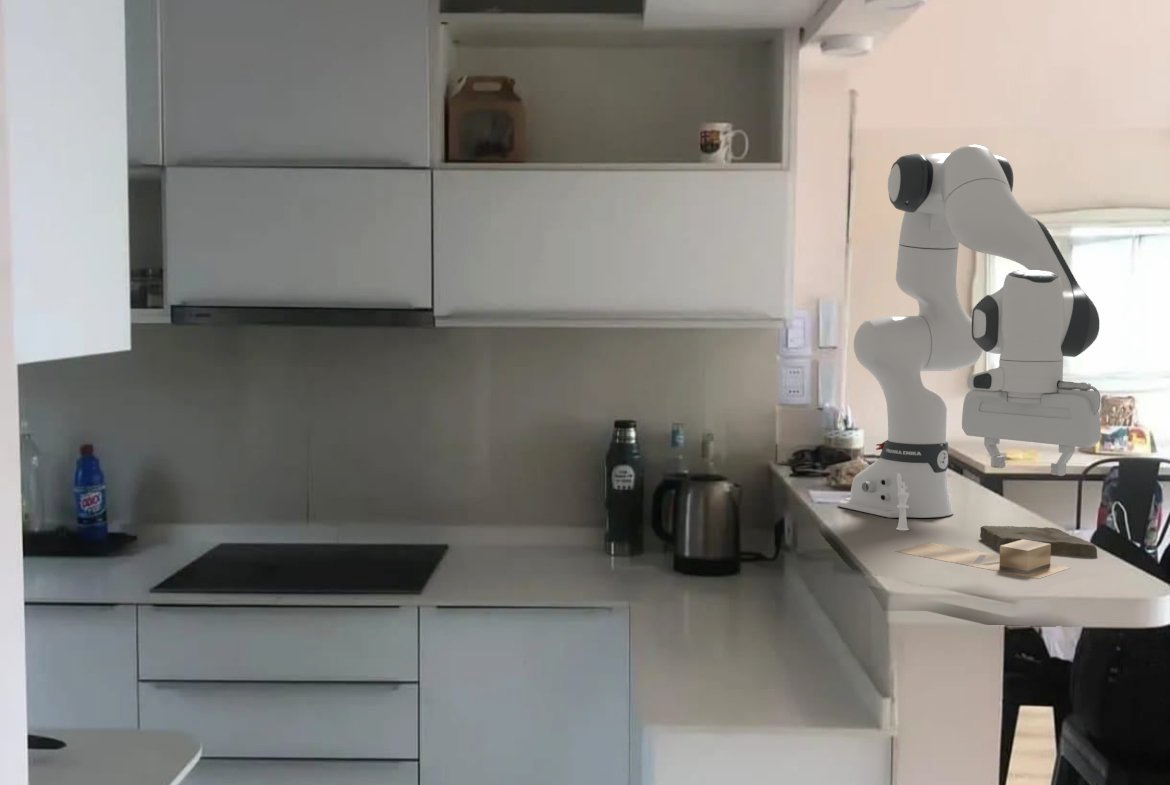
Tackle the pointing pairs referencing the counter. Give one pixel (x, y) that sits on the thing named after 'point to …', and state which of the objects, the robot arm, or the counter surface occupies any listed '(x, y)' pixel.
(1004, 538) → the marble piece
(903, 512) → the chess piece
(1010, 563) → the block
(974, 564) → the board
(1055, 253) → the robot arm
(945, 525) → the counter surface
